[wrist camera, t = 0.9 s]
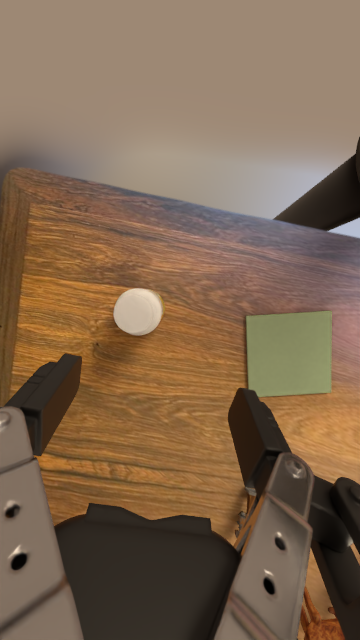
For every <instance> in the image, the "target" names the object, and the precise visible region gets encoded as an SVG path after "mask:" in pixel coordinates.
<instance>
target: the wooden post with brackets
mask: <svg viewBox="0 0 360 640" xmlns="http://www.w3.org/2000/svg"><path fill="white" fill-rule="evenodd" d="M245 490H246V492H247V496H248V497H247V513H245V514H244V512H243V511H242V512H241V514H238V515H239V519H238V521H237V523H238V524H239V531H238V530H235V535H236V537H237V538H238V535H239V533H240V531H241V528H242V526H243V524H244V521H245V519H246V516H247V514H248V512H249V509H250V507H251V504H252V502H253V500H254V498H255V496H256V494H257V493H256V490H254V489H251V488H247V487H245Z"/></svg>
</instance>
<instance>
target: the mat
mask: <svg viewBox="0 0 360 640" xmlns="http://www.w3.org/2000/svg"><path fill="white" fill-rule="evenodd" d="M331 341H332V311H316V312H301V313H285V314H270V315H254V316H246V342H247V372H248V389H251V390H254V391H255V392H256V394H257V396H258V397H268V396H284V395H300V394H316V393H331Z"/></svg>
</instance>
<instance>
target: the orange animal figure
mask: <svg viewBox="0 0 360 640" xmlns="http://www.w3.org/2000/svg"><path fill="white" fill-rule="evenodd" d="M304 599H305V603H306V607H307V609H308V612H309V615H310V618H311V621H310V623H309V622H308V619H307V616H306V613H305V610H304V608H303V606H302V608H301V615H300V620H301V624H302V627H303V630H304V633H305V637H304V640H345V638H344V635H343V632H342V630H341V627H340V624H339V622H338V619H337V616H336V614H335V611H334V608H333V607H329V608H328V611H329V613H332V614H334V615H335V617H336V618H335V619H327V620H321V616H320V615H319V613H318V611H317V610H316V609H315V607H314V605H313V604H312V601H311V599H310V596H309V593H308V591H307V589H306V587H305V588H304Z"/></svg>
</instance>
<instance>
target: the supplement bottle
mask: <svg viewBox="0 0 360 640" xmlns="http://www.w3.org/2000/svg"><path fill="white" fill-rule="evenodd" d="M164 312H165V305H164V302H163V300H162V298H161V297H160V295H159V294H157V293H156V292H154V291H152V290H149V289H141V288H135V289H131V290H128V291H126V292H124V293H123V294H122V295H121V296H120V297H119V298H118V300H117V302H116V304H115V308H114V320H115V322H116V324H117V325H118V327H119V328H120V329H121V330H123V331H125V332H127V333H129V334H132V335H145V334H148V333H150V332H151V331H153V330H154V329H155V328H156V327H157V326H158V324H159V323H160V321H161V320H162V318H163V316H164Z"/></svg>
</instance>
